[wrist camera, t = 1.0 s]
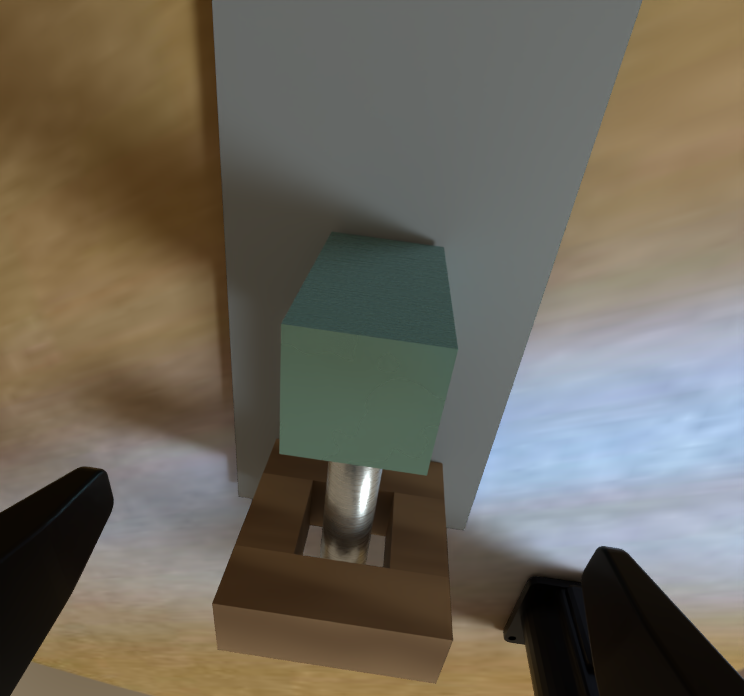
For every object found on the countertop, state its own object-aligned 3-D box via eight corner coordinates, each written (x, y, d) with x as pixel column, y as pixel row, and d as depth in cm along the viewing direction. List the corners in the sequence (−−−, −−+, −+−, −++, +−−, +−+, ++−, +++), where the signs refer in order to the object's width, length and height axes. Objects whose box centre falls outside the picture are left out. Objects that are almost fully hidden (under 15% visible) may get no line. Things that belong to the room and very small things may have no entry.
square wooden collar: (431, 505, 24) (436, 683, 17) (276, 482, 24) (217, 649, 17) (442, 463, 22) (452, 640, 15) (276, 438, 22) (212, 603, 15)
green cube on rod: (383, 547, 25) (371, 696, 19) (310, 536, 25) (276, 681, 19) (443, 247, 16) (458, 349, 10) (331, 231, 16) (281, 323, 10)
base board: (462, 517, 25) (463, 530, 24) (243, 484, 25) (238, 496, 24) (653, -66, 12) (667, -74, 12) (216, -122, 13) (204, -133, 12)
